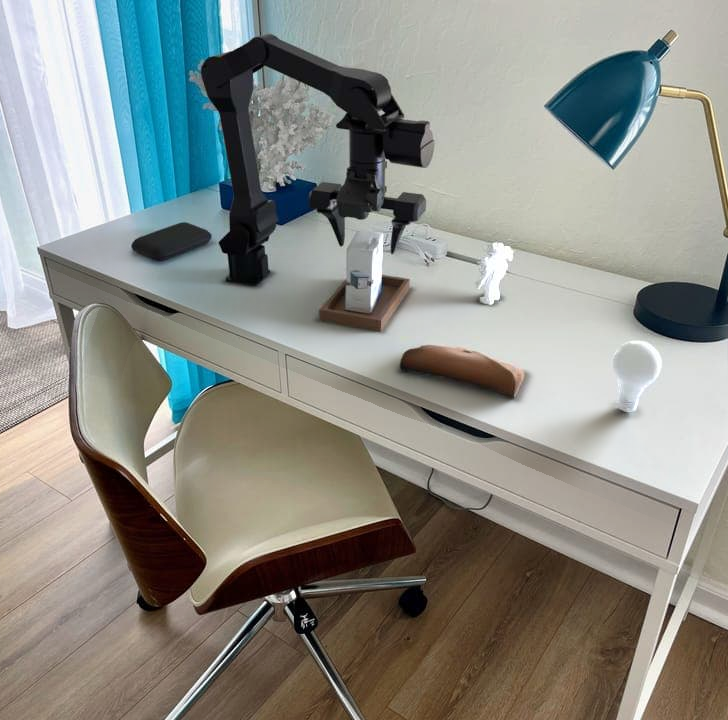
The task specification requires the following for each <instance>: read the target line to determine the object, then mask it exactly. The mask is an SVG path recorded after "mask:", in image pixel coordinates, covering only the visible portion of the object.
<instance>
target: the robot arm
mask: <svg viewBox="0 0 728 720" xmlns="http://www.w3.org/2000/svg"><path fill="white" fill-rule="evenodd" d="M263 68H269V69H271V70H273V71H276V72H278V73H279V74H282V75H284V76H287V77H289V78H290V79H293V80H294V81H297V82H300V83H302V84H303V85H306V86H308V87H310V88H313V89H315V90H317V91H319V92H321V93H323V94H325V95H326V96H327V97H329V98H330V99H331V100H332V102H333V103H334V104H335V106H336V107H338V108H339V109H341V110H342V111H343V112H345V114H344V115H343V117H342V119H340V121H338V122H336V124H335V128H336V129H340V130H347V131H348V147H349V149H348V150H349V151H348V153H349V158H348V159H349V161H348V162H349V164H348V165H349V166H348V167H347V168H346V172H345V173H346V175H345V176H346V178H345V180H344V183H343V185H342V184H341V183H335V182H328V181H321V182H320V183H319V184H318V185H316V186H315V187H314V188H313V189H312V190H311V191H309V194H308V207H309V208H310V209H315V210H316V212H317V213H318V214H321V215H323V216H324V217H325V218H326V219H327V220H328V222H329V224H330V226H331V228H332V231H333V233H334V235H335V239H336V241H337V243H338V245H339V247H343V246H344V245H345V237H346V218H352V219H356V220H358V221H363V220H366V219H367V218H368V217H369V215H370V213H373V212H376V213H377V212H380V211H381V209H382V210H389V211H392V215H393V216H394V217H393V218H392V219H391V221H390V222H391V226H392V230H391V238H390V239H391V240H390V254H391V255H394V254H395V252H396V250H397V248H398V245H399V242H400V241H401V238H402V235H403V233H404V232H405V228H406V226H409V225H411V224H412V223H414V222H418V221H419V219H420V218H421V217H423V215H424V213H425V212H426V210H427V198H426V197H425V196H424V194H422V193H414V192H406V191H403V192H401V194H400V195H399V196H398V197H397V198H396V197H390V196H386V195H385V194H386V193H387V192H388V191H387V189H388V187H387V185H386V170H387V168H388V162H389V163H390V164H395V165H402V166H408V167H415V168H422V169H426V168H428V167H429V166H430V164H431V162H432V159H433V155H434V151H435V139H434V135H433V132H432V130H431V129H430V127H431V123H430V121H429V120H422V119H421V120H411V119H405V113H404V112H403V110H402V109H401V107H400V105H399V103H398V102H397V100H396V99H395V97H394V95H393V94H392V87H391V86H390V83H389V80H388V78H387V77H386V76H385V75H383V74H381V73H379V72H377V71H373V70H367V69H362V68H355V67H345V66H342V65H338V64H336V63H333V62H331V61H329V60H327V59H325V58H322V57H320V56H318V55H315V54H313V53H311V52H309V51H307V50H304V49H303V48H300V47H297V46H296V45H293V44H291V43H288V42H286V41H284V40H282V39H280V38H279V36H278V37H277V36H276V35H274V34H272V33H266V34H262V35H257V36H254V37H252V38H251V39H250V40H249V41H247V42H245V43H244V44H243V45H240V46H238V47H237V48H235V49H233V50H229V51H226V52H223V53H218V54H215V55H213V56H208V57H207V58H206V59H204V61H203V63H202V65H201V66H200V77H201V81H202V84H203V87H204V90H205V93H206V96H207V98H208V99H209V101H210V102H211V104H212V105H213V107H214V108H215V109H216V111H217V112H218V116H219V120H220V126H221V131H222V137H223V143H224V148H225V154H226V158H227V159H226V161H227V165H228V171H229V176H230V182H231V187H232V193H233V198H232V202H231V206H230V209H229V213H228V214H229V215H228V219H229V221H228V223H229V231H228V232H227V233H226V234H225V235H224V236H223V237H222V238H221V239H220V240H219V241H218V245H219V247H220V250H221V252H222V254H225V255H227V263H228V273H229V274H228V275H227V276H225V282H229V283H235V284H241V285H246V286H251V287H257V286H258V285H259V284H260V283H262V282H263V281H264V280H265V279H266V278H267V277H268V276H269V275H270V274H271V273H272V272H271V269H270V268H269V258H268V257H269V256H268V254H267V253H266V246H265V245H263V244H265V243H267V242H269V240H270V236H271V235H272V234H273V233H274V232H275V230H276V228H277V222H279V220H280V219H279V217H278V215H277V210H276V209H277V208H276V201H275V200H274V199H268V198H267V197H266V196H265V194H264V192H263V191H262V185H261V180H260V175H259V168H258V162H257V161H258V160H257V156H256V150H255V149H256V148H255V142H254V136H253V130H252V123H251V118H250V112H249V108H250V103H251V99H252V96H253V92H254V74H255V73H257V72H259V71H261V70H262V69H263ZM379 112H383V113H382V114H381V115H380V113H379ZM387 160H388V161H387Z"/></svg>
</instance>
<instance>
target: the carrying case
mask: <svg viewBox="0 0 728 720" xmlns="http://www.w3.org/2000/svg"><path fill="white" fill-rule="evenodd" d="M212 237H213V234H212V233H211V232H210V231H208V230H207V229H205V228H204V227H203V228H202V227H200V226H197V225H194V224H192V223H189V222H186V221H182V222H178V223H175V224H173V225H169V226H167V227H164V228H161V229H158V230H156V231H153V232H150V233H147V234H144V235H141V236H139V237H137V238H135V239H134V240H133V242H132V243H131V249H132V250H133V251H134V252H136V254H137V255H141V256H144V257H145V258H148V259H150V260H153V261H154V262H165V261H167V260H170V259H173V258H175V257H178V256H180V255H183V254H185V253H188V252H190V251H194V250H195V249H198V248H200V247H203V246H205V245H208V244H209V242H210V241H211V240H212Z"/></svg>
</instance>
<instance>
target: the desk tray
mask: <svg viewBox="0 0 728 720" xmlns="http://www.w3.org/2000/svg"><path fill="white" fill-rule="evenodd" d="M410 282H411V279H410V278H406V277H405V278H404V277H399V276H394V275H393V276H392V275H386V274H382V280H381V293H380V295H379V297H378V299H377V302H376V304H375V306H374V308H373V310H372V312H371V313H363V312H356V311H350V310H346V309H345V303H346V278H345V279H344V280H343V282H341V284H340V285H339V286H338V287H337V288H336V289H335V290H334V292H333V293H331V295H330V296H329V298H328V299H327V300H326V301H325V302H324V303H323V305H322V306H321V307H320V308H319V309H318V313H319V321H321V322H327V323H333V324H338V325H342V326H343V325H344V326H348V327H353V328H359V329H366V330H371V331H375V332H382V331H383V329H384V328H385V326H386V325H387V324H388V322H389V320H390V319H391V317H392V316H393V315H394V313H395V312H396V311H397V308H398V307H399V306H400V304H401V302H402V301H403V299H404V298H405V297H406V295H407V293H409V291H410Z"/></svg>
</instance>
